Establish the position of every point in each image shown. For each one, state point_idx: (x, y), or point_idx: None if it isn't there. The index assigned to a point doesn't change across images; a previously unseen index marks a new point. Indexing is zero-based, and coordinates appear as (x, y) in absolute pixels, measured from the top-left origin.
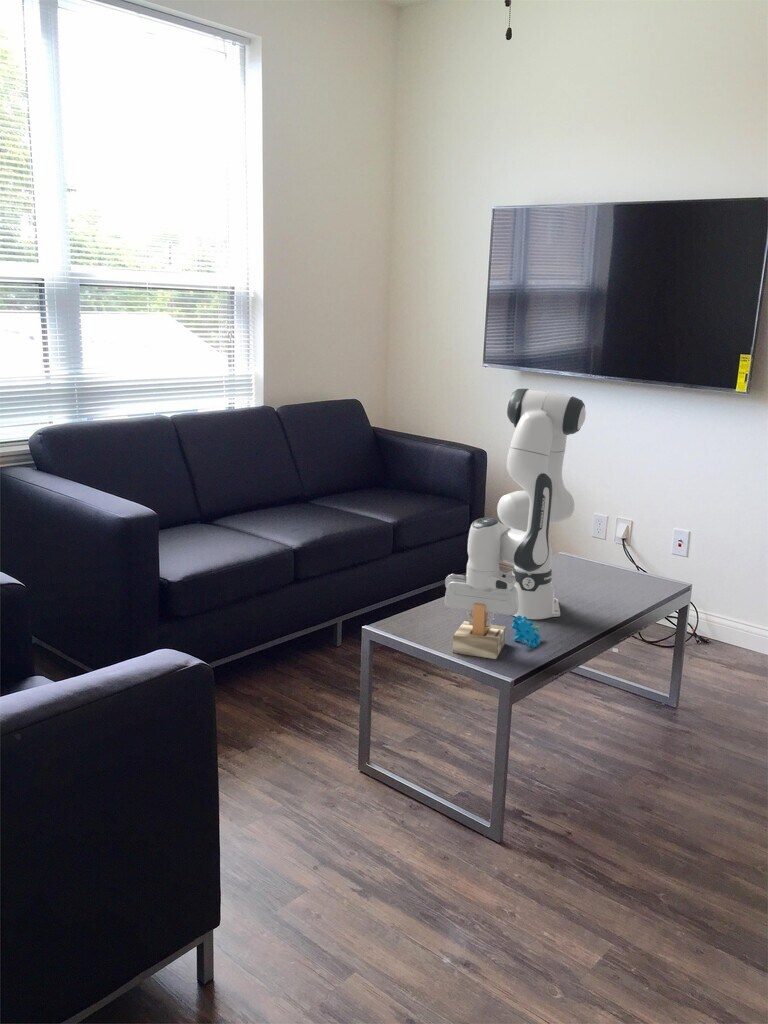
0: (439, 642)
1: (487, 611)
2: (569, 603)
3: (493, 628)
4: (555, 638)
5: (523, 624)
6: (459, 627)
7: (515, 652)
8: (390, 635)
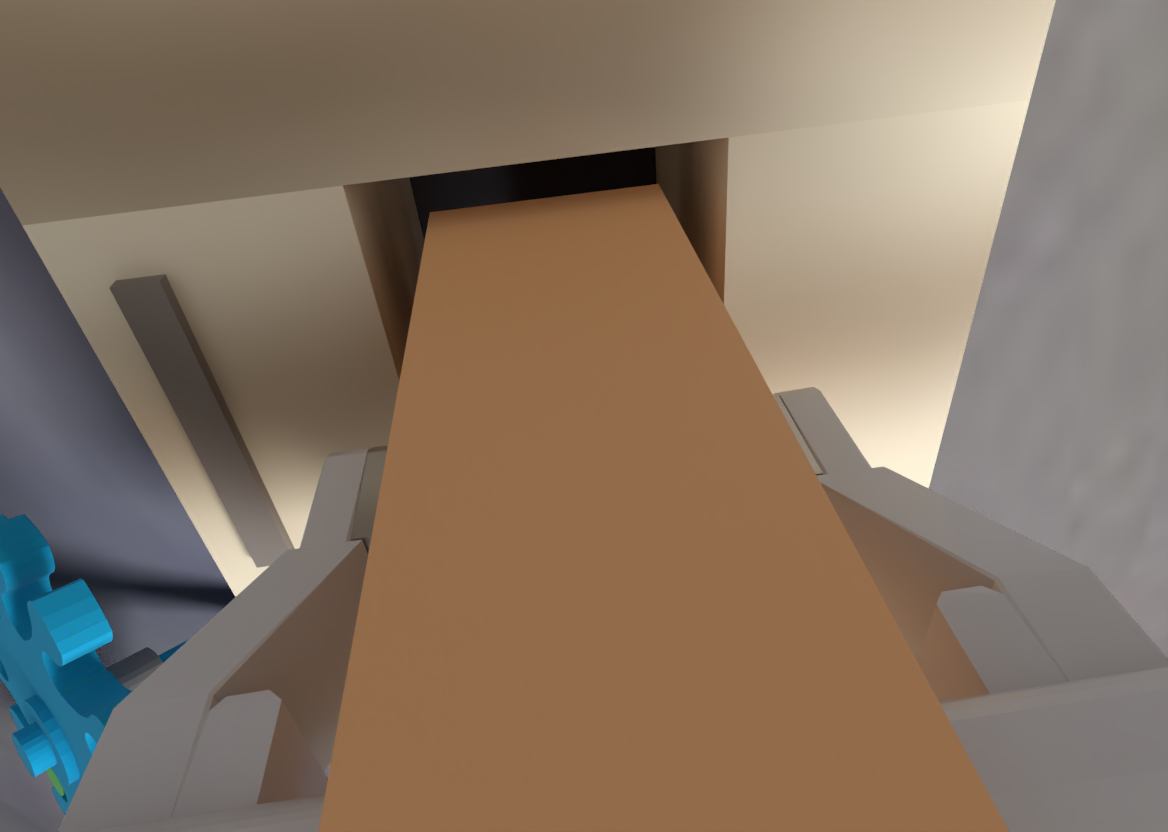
0: (1094, 176)
1: (261, 826)
2: None
3: None
4: (17, 779)
5: None
6: (956, 368)
7: (54, 344)
8: None
